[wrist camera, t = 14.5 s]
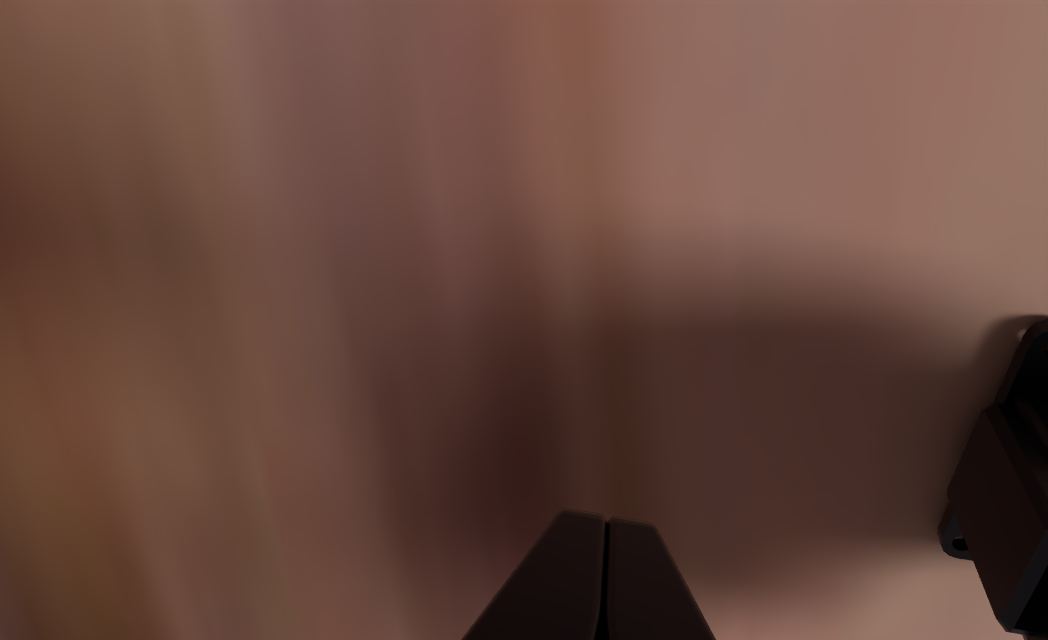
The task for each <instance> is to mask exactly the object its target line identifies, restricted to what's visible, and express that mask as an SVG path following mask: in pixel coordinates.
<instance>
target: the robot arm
mask: <svg viewBox="0 0 1048 640" xmlns="http://www.w3.org/2000/svg"><path fill="white" fill-rule="evenodd" d="M1046 342H1048V320H1044V321H1041V322H1038V323H1036V324H1034V325H1033V326H1032V327H1030V328H1029V329H1028V330H1027V331H1026V333H1025V334H1024V336H1023V338H1022V340H1021V342H1020V344H1019V347H1018V349H1017V351H1016V353H1015V356H1014V358H1013V360H1012V362H1011V365H1010V367H1009V369H1008V371H1007V374H1006V376H1005V378H1004V380H1003V383H1002V385H1001V387H1000V389H999V392H998V394H997V396H996V398H995V401H994V402H993V403H991V404H989V405H988V406H987V407H986V408H984V409H983V410H982V411H981V414H980V416H979V418H978V420H977V423H976V425H975V427H974V430H973V432H972V434H971V436H970V439H969V441H968V443H967V446H966V448H965V450H964V452H963V455H962V457H961V459H960V462H959V464H958V466H957V468H956V471H955V473H954V475H953V477H952V480H951V482H950V484H949V487H948V489H947V496H948V499H949V501H950V502H949V504H948V506H947V509H946V511H945V513H944V515H943V518H942V520H941V522H940V524H939V527H938V531H937V535H938V538H939V541H940V543H941V546H942V548H943V551H944V552H945V553H946V554H948V555H949V556H952V557H955V558H959V559H965V560H972V561H973V562H974V564H975V567H976V569H977V572H978V574H979V577H980V579H981V582H982V584H983V587H984V589H985V592H986V594H987V597H988V600H989V602H990V605H991V607H992V610H993V612H994V615H995V617H996V619H997V620H998V622H999V623H1000V624H1001V626H1002V627H1003V629H1004V630H1005V631H1006V632H1011V633H1016V634H1022V635H1023V638H1024V640H1048V350H1041V348H1042V346H1043V345H1044V344H1045V343H1046ZM960 535H963V537H964V538H962V539H955V538H956V537H958V536H960ZM461 640H716V639H715V637H714V635H713V633H712V631H711V629H710V628H709V626H708V624H707V622H706V620H705V618H704V616H703V614H702V612H701V610H700V609H699V607H698V605H697V603H696V601H695V599H694V597H693V595H692V593H691V592H690V590H689V588H688V586H687V584H686V582H685V580H684V578H683V576H682V574H681V573H680V571H679V569H678V567H677V565H676V563H675V561H674V559H673V557H672V555H671V554H670V552H669V550H668V548H667V546H666V544H665V542H664V540H663V538H662V537H661V535H660V533H659V531H658V529H657V528H656V526H655V525H653V524H652V523H650V522H645V521H640V520H634V519H628V518H622V517H612V518H610V519H609V521H608V522H606V519H605V517H604V516H603V515H601V514H598V513H592V512H586V511H580V510H574V509H563V510H561V511H560V512H559V513H558V514H557V515H556V516H555V517H554V519H553V520H552V521H551V523H550V524H549V525H548V527H547V528H546V529H545V530H544V532H543V533H542V534H541V536H540V537H539V538H538V540H537V541H536V542H535V544H534V545H533V546H532V548H531V549H530V550H529V551H528V553H527V554H526V555H525V557H524V558H523V559H522V561H521V562H520V563H519V565H518V566H517V567H516V569H515V570H514V571H513V572H512V574H511V575H510V576H509V578H508V579H507V580H506V582H505V583H504V584H503V586H502V587H501V588H500V590H499V591H498V592H497V593H496V595H495V596H494V597H493V599H492V600H491V601H490V603H489V604H488V605H487V607H486V608H485V609H484V611H483V612H482V613H481V614H480V616H479V617H478V618H477V620H476V621H475V622H474V624H473V625H472V626H471V628H470V629H469V630H468V632H467V633H466V634H465V635H464V637H463V638H462V639H461Z"/></svg>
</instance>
